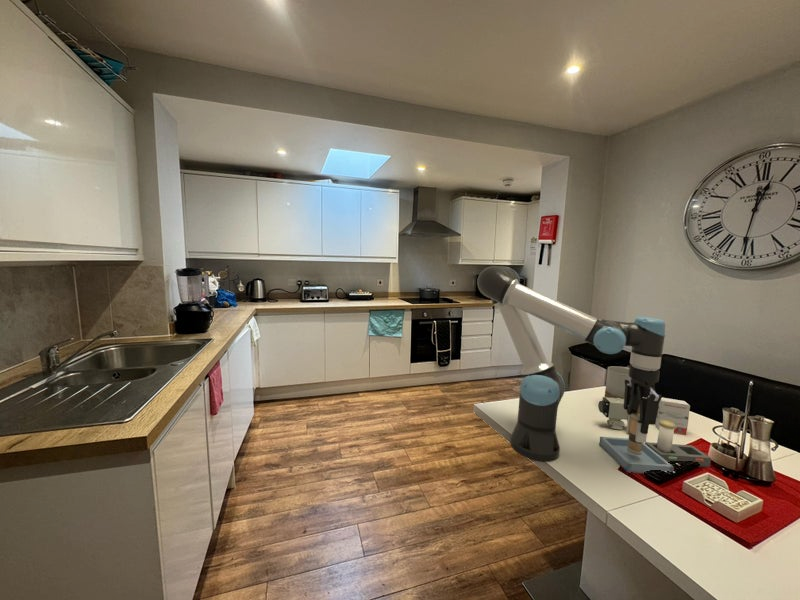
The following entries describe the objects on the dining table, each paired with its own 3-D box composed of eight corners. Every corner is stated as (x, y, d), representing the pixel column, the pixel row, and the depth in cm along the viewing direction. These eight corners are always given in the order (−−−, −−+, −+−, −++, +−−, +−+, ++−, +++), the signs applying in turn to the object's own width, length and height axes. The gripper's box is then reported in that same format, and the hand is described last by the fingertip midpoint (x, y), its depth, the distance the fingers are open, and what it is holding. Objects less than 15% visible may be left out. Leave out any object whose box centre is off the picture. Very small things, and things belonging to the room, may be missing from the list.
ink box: (681, 429, 122) (685, 400, 121) (686, 435, 117) (691, 405, 116) (653, 424, 125) (657, 395, 124) (657, 429, 121) (661, 400, 120)
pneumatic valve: (635, 433, 118) (639, 402, 117) (601, 428, 120) (604, 398, 119) (627, 425, 123) (631, 396, 122) (595, 421, 126) (598, 392, 124)
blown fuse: (631, 454, 99) (636, 418, 98) (624, 447, 103) (628, 412, 102) (644, 455, 99) (649, 419, 98) (636, 448, 103) (640, 413, 102)
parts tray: (627, 472, 94) (628, 463, 94) (599, 444, 109) (600, 436, 109) (672, 475, 94) (673, 466, 93) (638, 447, 108) (639, 439, 108)
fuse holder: (660, 464, 99) (661, 455, 99) (643, 450, 106) (645, 442, 106) (710, 467, 98) (712, 458, 98) (690, 453, 105) (692, 445, 105)
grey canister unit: (604, 401, 146) (608, 364, 144) (639, 409, 138) (644, 370, 136) (602, 411, 135) (607, 371, 133) (640, 420, 128) (645, 378, 126)
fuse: (660, 460, 101) (665, 425, 100) (652, 453, 105) (656, 419, 103) (673, 461, 101) (678, 426, 99) (664, 454, 104) (669, 420, 103)
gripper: (679, 377, 90) (668, 454, 92) (638, 359, 106) (630, 425, 109) (651, 375, 90) (641, 452, 93) (615, 358, 107) (608, 424, 109)
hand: (635, 437), depth 101 cm, fingers closed on blown fuse, 4 cm apart
